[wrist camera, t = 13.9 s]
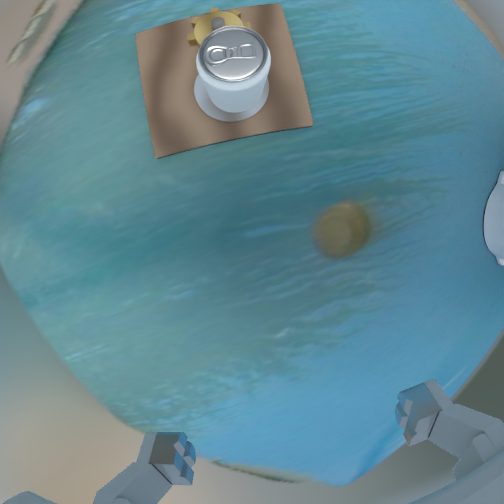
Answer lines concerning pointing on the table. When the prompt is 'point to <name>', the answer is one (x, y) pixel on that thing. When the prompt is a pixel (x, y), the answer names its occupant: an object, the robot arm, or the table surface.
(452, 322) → the table surface
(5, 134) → the table surface
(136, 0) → the table surface
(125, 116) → the table surface
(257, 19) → the board
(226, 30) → the can
